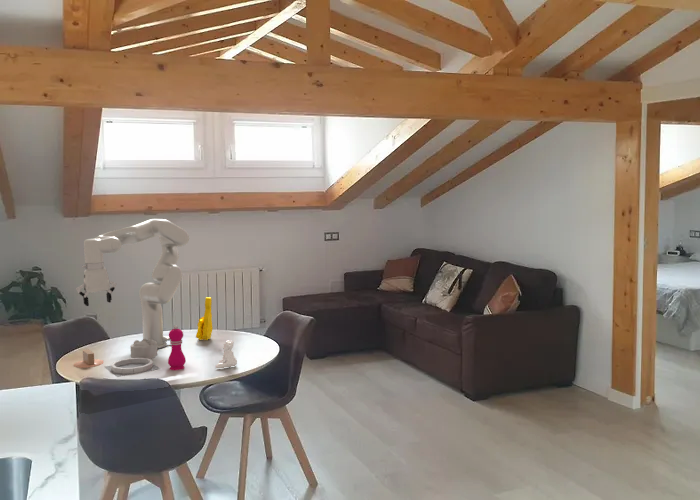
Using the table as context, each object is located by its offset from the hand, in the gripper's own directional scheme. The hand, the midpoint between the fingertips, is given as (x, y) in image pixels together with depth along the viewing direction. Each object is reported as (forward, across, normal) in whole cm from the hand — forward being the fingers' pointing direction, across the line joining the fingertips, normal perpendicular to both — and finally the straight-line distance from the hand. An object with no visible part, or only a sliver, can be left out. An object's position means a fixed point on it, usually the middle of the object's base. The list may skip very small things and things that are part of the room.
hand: (98, 303), depth 280 cm
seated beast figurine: (+27, +38, -46) cm, 66 cm away
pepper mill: (+26, +19, -39) cm, 51 cm away
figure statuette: (+28, +53, +4) cm, 60 cm away
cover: (+26, -8, -8) cm, 28 cm away
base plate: (+26, +4, -27) cm, 37 cm away
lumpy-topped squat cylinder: (+27, +16, -11) cm, 33 cm away
